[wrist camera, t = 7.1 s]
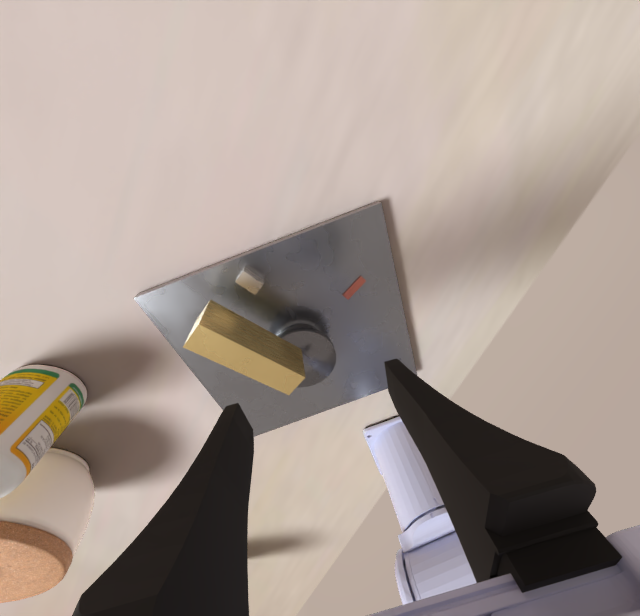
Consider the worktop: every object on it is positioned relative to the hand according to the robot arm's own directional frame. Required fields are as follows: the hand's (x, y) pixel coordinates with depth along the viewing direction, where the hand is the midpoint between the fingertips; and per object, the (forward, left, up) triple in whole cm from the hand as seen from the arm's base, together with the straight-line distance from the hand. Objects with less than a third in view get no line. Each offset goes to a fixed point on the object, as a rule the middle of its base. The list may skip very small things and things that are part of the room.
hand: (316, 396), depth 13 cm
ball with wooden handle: (-1, +3, -7) cm, 8 cm away
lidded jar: (-7, +28, -10) cm, 31 cm away
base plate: (-3, +1, -10) cm, 10 cm away
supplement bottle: (+1, +21, -10) cm, 23 cm away
